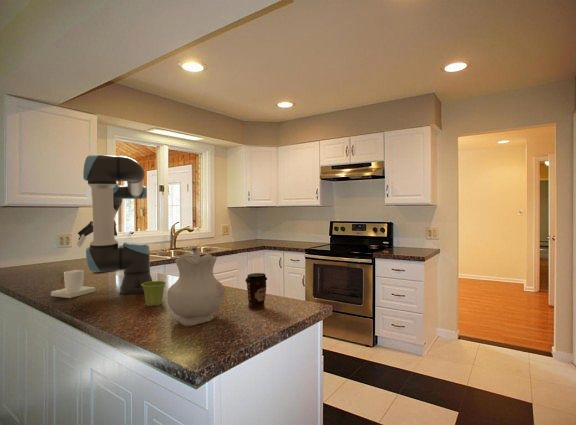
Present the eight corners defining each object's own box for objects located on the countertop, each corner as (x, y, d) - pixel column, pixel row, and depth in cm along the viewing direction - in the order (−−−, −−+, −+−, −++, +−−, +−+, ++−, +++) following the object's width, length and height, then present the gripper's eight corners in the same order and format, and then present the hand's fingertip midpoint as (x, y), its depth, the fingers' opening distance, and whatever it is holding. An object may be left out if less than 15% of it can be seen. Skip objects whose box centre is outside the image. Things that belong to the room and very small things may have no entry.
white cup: (74, 294, 152) (74, 273, 152) (59, 294, 154) (59, 272, 154) (87, 290, 160) (87, 270, 160) (74, 290, 162) (73, 269, 162)
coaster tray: (95, 291, 161) (95, 287, 161) (70, 298, 149) (70, 293, 149) (76, 289, 165) (76, 285, 165) (51, 296, 153) (51, 291, 153)
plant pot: (171, 302, 138) (170, 281, 138) (153, 308, 130) (153, 286, 130) (154, 300, 142) (154, 280, 142) (136, 306, 134) (136, 284, 134)
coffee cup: (271, 305, 131) (270, 273, 131) (263, 312, 123) (262, 277, 123) (251, 304, 134) (250, 272, 134) (242, 310, 126) (241, 276, 126)
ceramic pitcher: (164, 317, 122) (157, 250, 121) (215, 305, 132) (209, 243, 130) (176, 336, 103) (167, 258, 102) (235, 320, 113) (228, 248, 111)
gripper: (131, 220, 191) (118, 249, 176) (87, 221, 191) (71, 250, 176) (126, 211, 185) (112, 240, 170) (82, 211, 185) (64, 241, 170)
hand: (91, 245), depth 173 cm, fingers open, 13 cm apart
